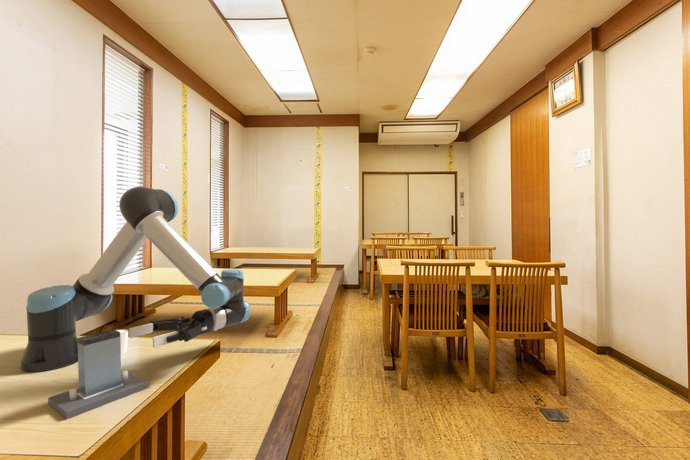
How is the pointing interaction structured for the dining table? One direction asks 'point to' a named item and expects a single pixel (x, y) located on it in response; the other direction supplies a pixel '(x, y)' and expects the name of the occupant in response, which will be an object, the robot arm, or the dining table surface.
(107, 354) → the block
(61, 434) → the dining table surface
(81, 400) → the slotted base plate
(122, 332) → the white cylinder
